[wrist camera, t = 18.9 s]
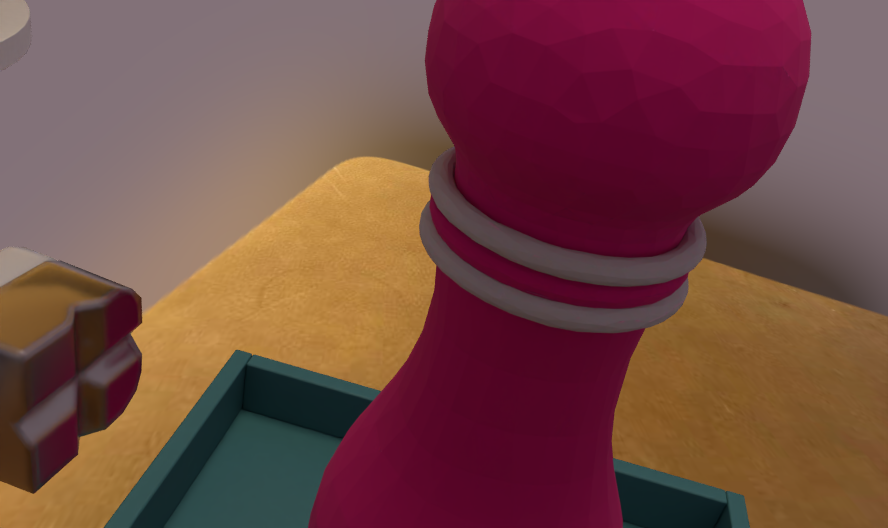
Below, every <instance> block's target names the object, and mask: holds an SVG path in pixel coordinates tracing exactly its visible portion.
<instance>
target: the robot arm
mask: <svg viewBox="0 0 888 528" xmlns="http://www.w3.org/2000/svg"><path fill="white" fill-rule="evenodd" d="M141 323H142V305H141V297H140V296H139V295H138V294H137V293H136V292H135V291H134V290H133V289H131V288H128V287H126V286H123V285H121V284H118V283H116V282H113V281H111V280H108V279H106V278H103V277H100V276H98V275H96V274H93V273H91V272H88V271H86V270H83V269H81V268H78V267H75V266H73V265H70V264H68V263H65V262H63V261H57V260H55V259H53V258H51V257H48V256H46V255H43V254H41V253H38V252H36V251H33V250H30V249H28V248H25V247H7V248H5V249H3V250H1V251H0V481H2V482H4V483H7V484H10V485H12V486H15V487H17V488H20V489H22V490H25V491H27V492H30V493H32V494H34V493H35V492H36V491H37V490H39V489H40V488H41V487H42V486H43V485H44V484H45V483H46V482H48V481H49V480H50V479H51V478H52V477H53V476H54V475H55V474H56V473H58V472H59V471H60V470H61V469H62V468H63V467H64V466H65V465H67V464H68V463H69V462H70V461H71V460H72V459H73V458H74V457H75V456H77V455H78V449H79V440H80V437H81V436H84V435H88V434H91V433H95V432H98V431H101V430H105V429H106V428H108V427H109V426H110V425H111V424H112V423H113V422H114V421H115V420H116V419H117V418H118V417H119V416H120V415H121V414H122V413H123V412H124V410H125V408H126V407H127V405H128V404H129V402H130V400H131V399H132V397H133V395H134V394H135V392H136V390H137V386H138V382H139V378H140V375H141V366H142V354H141V352H140V350H139V348H138V347H137V345H136V343H135V341H134V339H133V338H132V336H131V333H132V332H133V331H134V330H135V329H136V328H137V327H138V326H139V325H140V324H141Z"/></svg>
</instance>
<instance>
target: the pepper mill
mask: <svg viewBox="0 0 888 528" xmlns="http://www.w3.org/2000/svg"><path fill="white" fill-rule="evenodd" d="M427 39H428V40H427V47H426V55H425V66H426V75H427V84H428V93H429V96H430V98H431V101H432V103H433V106H434V108H435V111H436V113H437V116H438V118H439V120H440V121H441V123H442V125H443V127H444V128H445V130H446V132H447V134H448V135H449V137H450V139H451V141H452V142H453V144H454V147H452V148H450V149H448V150H446V151H445V152H443V153H442V154H441V155H440V156H439V157H438V158H437V159H436V161H435V162H434V163H433V165H432V168H431V171H430V174H429V188H430V192H431V199H430V201H429V202H428V203H427V204H426V206H425V208H424V209H423V211H422V213H421V219H420V224H419V229H420V237H421V240H422V243H423V245H424V247H425V249H426V251H427V253H428V255H429V256H430V258H431V259H432V260H433V262H434V263H435V264H436V265H437V266H436V277H435V289H434V293H433V297H432V300H431V304H430V307H429V311H428V314H427V318H426V321H425V325H424V328H423V331H422V333H421V335H420V337H419V339H418V341H417V343H416V344H415V346H414V348H413V350H412V352H411V354H410V356H409V358H408V359H407V361H406V362H405V363H404V365H403V366H402V367H401V368H400V370H399V371H398V372H397V374H396V375H395V376H394V378H393V379H392V380H391V381H390V382H389V383H388V384H387V386H386V387H385V388H384V389H383V390H382V391H381V392H380V393H379V395H378V396H377V397H376V398H375V399H374V400H373V401H372V402H371V404H370V405H369V406H368V407H367V408H366V409H365V410H364V411H363V413H362V414H361V415H360V416H359V417H358V418H357V420H356V421H355V422H354V423H353V425H352V426H351V427H350V428H349V430H348V431H347V433H346V435H345V436H344V438H343V440H342V441H341V443H340V445H339V446H338V448H337V450H336V451H335V453H334V455H333V456H332V458H331V460H330V461H329V463H328V465H327V466H326V468H325V470H324V474H323V477H322V480H321V483H320V486H319V489H318V492H317V495H316V498H315V501H314V505H313V508H312V511H311V514H310V519H309V525H308V528H623V518H622V511H621V505H620V499H619V494H618V488H617V483H616V477H615V472H614V465H613V453H612V441H611V440H612V430H613V421H614V411H615V407H616V404H617V401H618V397H619V394H620V391H621V388H622V384H623V381H624V378H625V374H626V371H627V368H628V364H629V361H630V358H631V356H632V354H633V352H634V350H635V348H636V346H637V344H638V342H639V340H640V338H641V336H642V334H643V332H644V330H645V328H648V327H652V326H654V325H656V324H659V323H661V322H663V321H665V320H666V319H668V318H669V317H671V316H672V315H674V314H675V313H676V312H677V311H678V309H679V308H680V307H681V306H682V305H683V302H684V300H685V298H686V295H687V293H688V273H689V272H690V271H691V270H693V269H694V268H695V267H696V266H697V264H698V263H699V262H700V261H701V260H702V258H703V255H704V253H705V249H706V232H705V230H704V227H703V225H702V223H701V220H700V218H699V217H698V216H700V215H701V214H703V213H705V212H708V211H710V210H712V209H714V208H716V207H718V206H720V205H722V204H724V203H726V202H728V201H730V200H732V199H734V198H736V197H738V196H739V195H741V194H742V193H743V192H745V191H746V190H748V189H749V188H751V187H752V186H753V185H754V184H755V183H756V182H757V181H758V180H759V179H760V178H761V177H762V176H763V175H764V174H765V173H766V171H767V170H768V169H769V168H770V167H771V166H772V165H773V164H774V163H775V161H776V159H777V157H778V156H779V154H780V152H781V150H782V149H783V147H784V145H785V143H786V141H787V139H788V138H789V136H790V134H791V132H792V130H793V129H794V127H795V124H796V121H797V117H798V113H799V110H800V106H801V103H802V99H803V96H804V92H805V88H806V85H807V82H808V78H809V68H810V47H811V30H810V26H809V22H808V18H807V15H806V11H805V7H804V3H803V0H437V1H436V3H435V5H434V9H433V13H432V18H431V22H430V26H429V30H428V38H427Z"/></svg>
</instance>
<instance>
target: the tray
mask: <svg viewBox="0 0 888 528" xmlns="http://www.w3.org/2000/svg"><path fill="white" fill-rule="evenodd" d="M380 392H381V391H379V390H375V389H372V388H368V387H365V386H362V385H358V384H355V383H351V382H348V381H344V380H341V379H337V378H334V377H330V376H327V375H323V374H320V373H316V372H313V371H310V370H306V369H303V368H299V367H296V366H292V365H289V364H285V363H282V362H278V361H275V360H271V359H268V358H264V357H261V356H258V355H253V356H252V354H251V353H247V352H244V351H240V350H236V351H235V352H234V353H233V355H232V356H231V357H230V359H229V360H228V361H227V363H226V364H225V365H224V367H223V368H222V370H221V371H220V372H219V374H218V375H217V376H216V378H215V379H214V380H213V382H212V383H211V384H210V386H209V387H208V388H207V390H206V391H205V392H204V394H203V395H202V396H201V398H200V399H199V400H198V402H197V403H196V404H195V406H194V407H193V408H192V410H191V411H190V412H189V414H188V415H187V416H186V418H185V419H184V421H183V422H182V423H181V425H180V426H179V427H178V429H177V430H176V431H175V433H174V434H173V435H172V437H171V438H170V439H169V441H168V442H167V443H166V445H165V446H164V447H163V449H162V450H161V451H160V453H159V454H158V455H157V457H156V458H155V459H154V461H153V462H152V463H151V465H150V466H149V468H148V469H147V470H146V472H145V473H144V474H143V476H142V477H141V478H140V480H139V481H138V482H137V484H136V485H135V486H134V488H133V489H132V490H131V492H130V493H129V494H128V496H127V497H126V498H125V500H124V501H123V502H122V504H121V505H120V506H119V508H118V509H117V510H116V512H115V513H114V514H113V516H112V517H111V519H110V520H109V521H108V523H107V524H106V525H105V527H104V528H308V525H309V519H310V514H311V511H312V508H313V505H314V501H315V498H316V495H317V492H318V489H319V486H320V483H321V480H322V477H323V474H324V470H325V468H326V466H327V465H328V463H329V461H330V460H331V458H332V456H333V455H334V453H335V451H336V450H337V448H338V446H339V445H340V443H341V441H342V440H343V438H344V436H345V435H346V433H347V431H348V430H349V428H350V427H351V426H352V425H353V423H354V422H355V421H356V420H357V418H358V417H359V416H360V415H361V414H362V413H363V411H364V410H365V409H366V408H367V407H368V406H369V405H370V404H371V402H372V401H373V400H374V399H375V398H376V397H377V396H378V395H379V393H380ZM613 465H614V472H615V477H616V483H617V488H618V494H619V499H620V505H621V511H622V518H623V528H750V526H749V521H748V515H747V510H746V504H745V499H744V496H743V495H740V494H736V493H733V492H730V491H726V492H725V491H724V490H722V489H719V488H715V487H712V486H708V485H705V484H701V483H698V482H694V481H691V480H687V479H684V478H680V477H677V476H673V475H670V474H667V473H663V472H660V471H656V470H653V469H649V468H646V467H642V466H639V465H635V464H632V463H628V462H625V461H622V460H618V459H615V458H613Z"/></svg>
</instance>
